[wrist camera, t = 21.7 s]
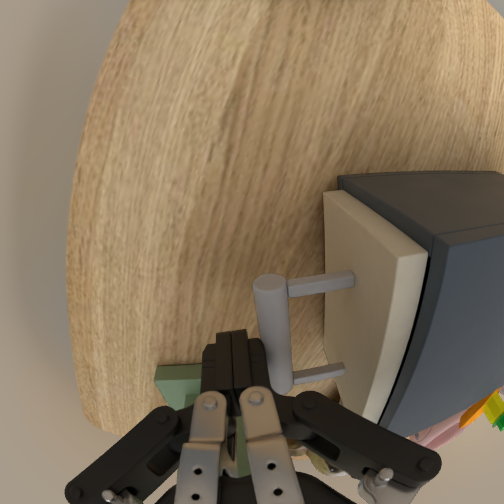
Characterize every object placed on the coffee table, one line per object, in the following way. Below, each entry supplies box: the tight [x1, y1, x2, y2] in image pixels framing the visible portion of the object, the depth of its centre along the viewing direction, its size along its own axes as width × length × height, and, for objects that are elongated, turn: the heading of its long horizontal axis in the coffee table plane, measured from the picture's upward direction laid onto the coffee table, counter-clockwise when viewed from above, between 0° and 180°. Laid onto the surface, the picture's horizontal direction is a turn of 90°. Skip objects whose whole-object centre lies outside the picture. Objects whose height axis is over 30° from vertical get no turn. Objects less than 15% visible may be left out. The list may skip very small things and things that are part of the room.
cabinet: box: [338, 171, 504, 438], centre depth 13 cm, size 15×13×10 cm
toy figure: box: [459, 387, 504, 431], centre depth 17 cm, size 7×4×12 cm, turn 162°
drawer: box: [252, 190, 431, 424], centre depth 13 cm, size 18×11×8 cm, turn 97°
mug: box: [410, 406, 471, 451], centre depth 26 cm, size 12×10×6 cm
